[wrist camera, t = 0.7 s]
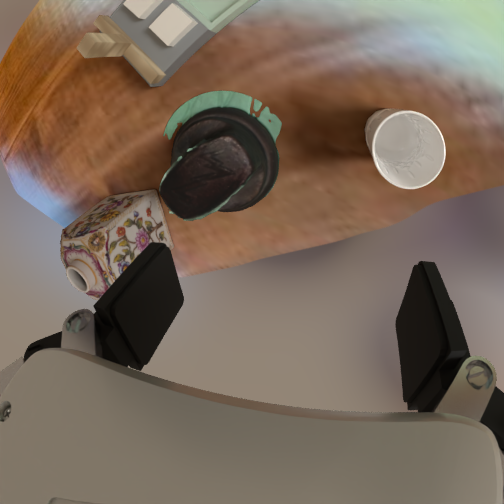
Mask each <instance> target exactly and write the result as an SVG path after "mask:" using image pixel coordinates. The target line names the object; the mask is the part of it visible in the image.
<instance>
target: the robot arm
mask: <svg viewBox="0 0 504 504" xmlns="http://www.w3.org/2000/svg"><path fill="white" fill-rule="evenodd" d="M183 301H184V296H183V293H182V290H181V287H180V283H179V280H178V276H177V272H176V269H175V265H174V262H173V258H172V254H171V250H170V248H169V247H167V245H166V244H165V243H159V242H151V243H150V244H149V245H148V246H147V247H146V248H145V249H144V250H143V251H142V252H141V253H140V254H139V255H138V256H137V257H136V258H135V259H134V261H133V262H132V263H131V264H130V265H129V266H128V267H127V268H126V269H125V270H124V271H123V273H122V274H121V275H120V276H119V277H118V278H117V279H116V280H115V282H114V283H113V284H112V285H111V286H110V287H109V288H108V289H107V291H106V292H105V293H104V294H103V295H102V296H101V298H100V299H99V300H98V301H97V303H96V304H95V305H94V308H95V310H96V312H95V313H94V314H93V313H92V312H91V311H90V310H88V309H81V310H78V311H75V312H73V313H72V314H71V315H69V316H68V317H67V319H66V320H65V322H64V324H63V329H62V331H61V332H58V333H56V334H53V335H51V336H48V337H45V338H43V339H40V340H38V341H36V342H34V343H32V344H30V345H29V346H28V348H27V350H26V352H25V355H24V358H23V357H21V358H19V359H18V360H16V361H15V362H13V363H12V364H10V365H9V366H8V367H6V368H5V369H3V370H2V371H1V372H0V504H504V393H503V392H502V391H501V390H499V389H498V388H497V387H496V386H495V385H496V381H497V377H496V372H495V369H494V367H493V366H492V364H491V363H490V362H489V361H488V360H487V359H485V358H483V357H481V356H470V353H469V349H468V346H467V342H466V339H465V336H464V333H463V330H462V327H461V324H460V321H459V318H458V315H457V312H456V310H455V307H454V304H453V302H452V300H450V298H449V295H448V292H447V290H446V288H445V285H444V283H443V280H442V278H441V275H440V273H439V271H438V269H437V266H436V264H435V263H434V262H425V261H420V262H419V263H418V265H414V267H413V270H412V273H411V276H410V280H409V283H408V286H407V290H406V292H405V295H404V299H403V301H402V304H401V307H400V310H399V313H398V316H397V318H396V333H397V339H398V347H399V356H400V365H401V375H402V388H403V400H404V402H407V404H408V410H418V412H398V413H382V412H379V413H378V412H350V411H331V410H320V409H309V408H300V407H292V406H284V405H277V404H270V403H264V402H258V401H252V400H247V399H242V398H237V397H232V396H226V395H222V394H217V393H213V392H209V391H205V390H201V389H197V388H193V387H189V386H185V385H182V384H178V383H175V382H171V381H168V380H164V379H161V378H158V377H155V376H151V375H148V374H145V373H142V372H139V371H141V370H142V368H143V366H144V365H146V364H148V362H149V361H150V359H151V357H152V356H153V354H154V352H155V350H156V349H157V347H158V345H159V344H160V342H161V340H162V339H163V337H164V335H165V333H166V332H167V330H168V328H169V327H170V325H171V323H172V322H173V320H174V318H175V317H176V315H177V313H178V312H179V310H180V308H181V307H182V305H183ZM128 365H129V366H130V367H131V368H134V369H136V370H139V371H136V370H133V369H131V368H128Z"/></svg>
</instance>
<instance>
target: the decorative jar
mask: <svg viewBox="0 0 504 504" xmlns="http://www.w3.org/2000/svg"><path fill="white" fill-rule="evenodd" d="M151 242H159V243H165V244H166V245H167V247H169V248H170V250H172V248H173V247H174V245H173V242H172V239H171V236H170V232H169V229H168V226H167V223H166V219H165V216H164V213H163V209H162V206H161V203H160V200H159V197H158V193H157V190H155V189H153V190H145V191H139V192H131V193H124V194H119V195H112V196H109V197H107V198H105V199H104V200H102V201H101V202H99V203H98V204H96V205H95V206H94V207H92V208H91V209H89V210H88V211H87V212H85V213H84V214H83V215H81V216H80V217H79V218H77V219H76V220H75V221H74V222H73V223H71V224H70V225H69V226H67V227H66V228H65V229H63V230H62V235H61V241H60V244H61V250H60V251H61V260H62V262H63V264H64V266H65V268H66V275H67V278H68V279H69V281H70V282H71V284H72V285H73V286H74V287H75V288H76V289H77V290H79V291H81V292H84V293H86V294H87V295H89V296H90V297H91V298H92V299H95V300H99V299H100V298H101V296H102V295H103V294H104V293H105V292H106V291H107V289H108V288H109V287H110V286H111V285H112V284H113V283H114V282H115V280H116V279H117V278H118V277H119V276H120V275H121V274H122V273H123V271H124V270H125V269H126V268H127V267H128V266H129V265H130V264H131V263H132V262H133V261H134V259H135V258H136V257H137V256H138V255H139V254H140V253H141V252H142V251H143V250H144V249H145V248H146V247H147V246H148V245H149V244H150V243H151Z"/></svg>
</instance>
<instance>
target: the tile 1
mask: <svg viewBox="0 0 504 504" xmlns="http://www.w3.org/2000/svg"><path fill="white" fill-rule="evenodd" d="M162 1H163V0H126V1H125V2H124V3H123V4H124V5H125V6H126V7H127V8H128V9H129V10H130V11H132V12H133V13H134V14H135V15H136V16H137V17H138V18H141V19H146V18H147V17H148V16H149V15H150V14H151V13H152V12H153V10H154V9H155V8H156V7H157V6H158V5H159V4H160V3H161V2H162Z"/></svg>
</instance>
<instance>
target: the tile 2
mask: <svg viewBox="0 0 504 504" xmlns="http://www.w3.org/2000/svg"><path fill="white" fill-rule="evenodd" d="M197 24H198V23H197V22H196V21H195V20H194V19H193V18H192V17H191V16H190V15H189V14H187V13H186V12H185V11H184V10H183V9H182V8H181V7H179V6H178V5H176V4H173V3H172V4H171V5H170V6H169V7H167V8H166V9H165V10H164V11H163V12H162V13H161V15H160V16H159V17H158V18H157V19H156V20H155V21H154V22H153V23H152V24H151V25H150V26H149V28H150V29H151V30H152V31H153V32H154V33H155V34H156V35H157V36H158V37H159V38H160V39H161V40H162V41H163V42H164V43H165V44H166V45H167V46H172V47H174V46H175V45H176V44H177V43H178V42H179V41H180V40H181V39H182V38H183V37H184V36H185V35H186V34H187V33H188V32H189V31H190V30H191V29H192V28H193V27H194V26H195V25H197Z"/></svg>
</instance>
